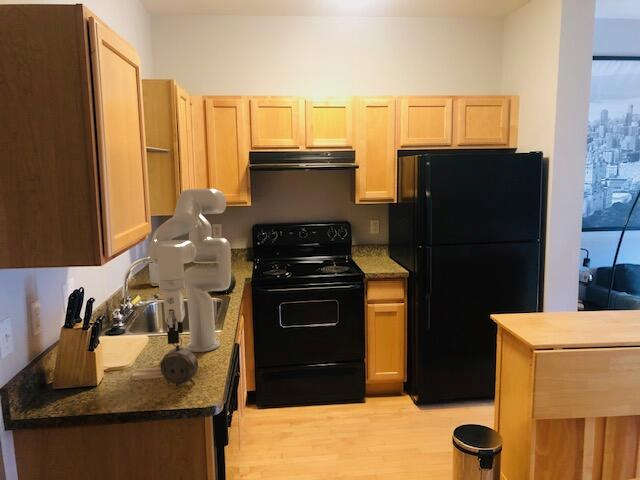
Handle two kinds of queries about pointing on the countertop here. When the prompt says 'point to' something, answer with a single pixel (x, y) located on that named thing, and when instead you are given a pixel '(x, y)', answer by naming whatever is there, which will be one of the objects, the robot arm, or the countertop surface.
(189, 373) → the alarm clock
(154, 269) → the utensil holder
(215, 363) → the countertop surface
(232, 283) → the squash
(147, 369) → the track
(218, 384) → the countertop surface
